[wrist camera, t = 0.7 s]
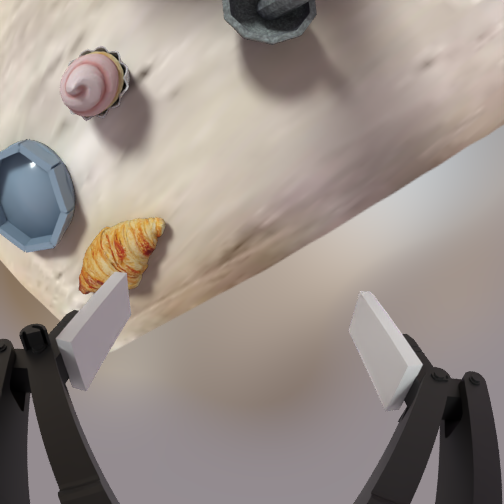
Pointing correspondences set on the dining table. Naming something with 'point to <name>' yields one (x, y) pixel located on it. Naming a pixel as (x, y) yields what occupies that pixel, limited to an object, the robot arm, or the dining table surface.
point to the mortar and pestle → (269, 18)
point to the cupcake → (94, 83)
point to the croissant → (120, 253)
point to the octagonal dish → (34, 196)
